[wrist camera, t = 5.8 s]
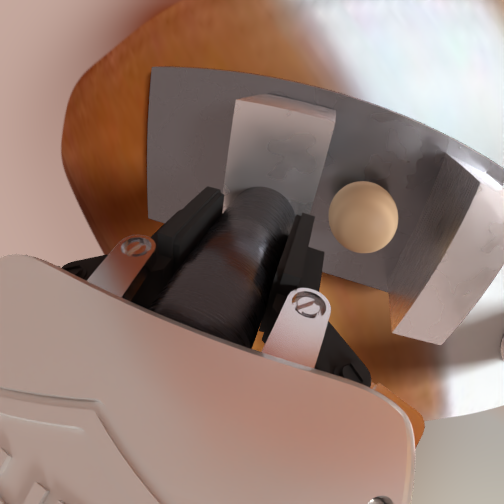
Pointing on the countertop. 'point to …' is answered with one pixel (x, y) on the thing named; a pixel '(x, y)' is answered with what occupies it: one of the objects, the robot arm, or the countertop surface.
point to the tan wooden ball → (363, 217)
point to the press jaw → (251, 217)
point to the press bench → (341, 174)
